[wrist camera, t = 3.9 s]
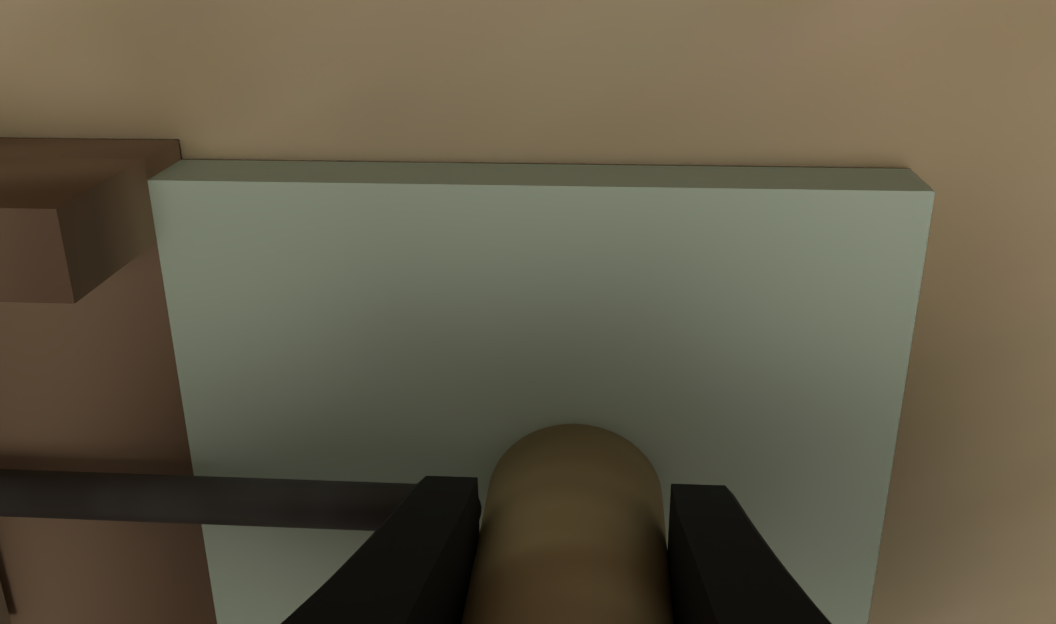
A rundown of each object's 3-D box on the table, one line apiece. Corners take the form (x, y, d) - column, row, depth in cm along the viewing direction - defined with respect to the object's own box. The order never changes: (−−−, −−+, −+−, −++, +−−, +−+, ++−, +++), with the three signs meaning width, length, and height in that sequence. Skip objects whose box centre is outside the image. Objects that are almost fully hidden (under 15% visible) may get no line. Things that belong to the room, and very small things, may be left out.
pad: (910, 167, 12) (935, 191, 11) (835, 686, 15) (849, 738, 14) (180, 159, 13) (147, 180, 12) (252, 658, 16) (229, 706, 15)
